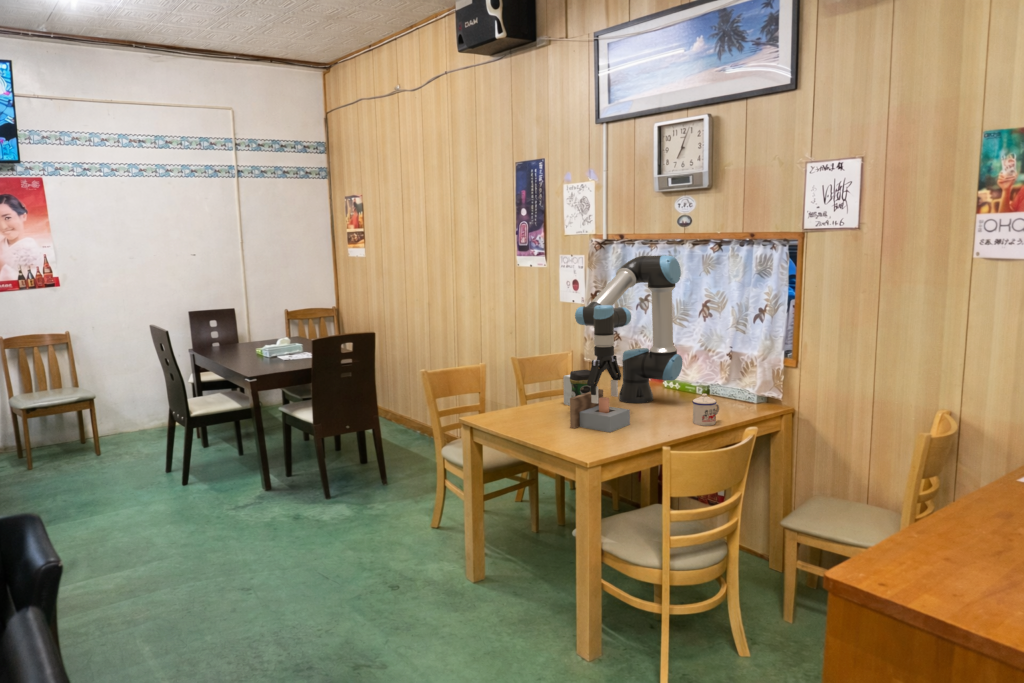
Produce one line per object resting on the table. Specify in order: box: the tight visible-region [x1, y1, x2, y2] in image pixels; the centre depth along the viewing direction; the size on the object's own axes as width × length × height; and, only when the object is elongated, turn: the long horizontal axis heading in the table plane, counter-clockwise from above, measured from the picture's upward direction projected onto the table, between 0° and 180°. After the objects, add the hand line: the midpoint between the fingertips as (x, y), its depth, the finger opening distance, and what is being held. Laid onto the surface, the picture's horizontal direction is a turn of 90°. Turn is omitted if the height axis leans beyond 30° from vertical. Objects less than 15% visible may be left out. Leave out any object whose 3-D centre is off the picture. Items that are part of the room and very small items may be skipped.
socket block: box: [579, 406, 631, 433], centre depth 280 cm, size 14×14×6 cm
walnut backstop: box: [569, 388, 604, 429], centre depth 285 cm, size 20×2×12 cm, turn 139°
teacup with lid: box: [692, 393, 720, 427], centre depth 280 cm, size 12×9×12 cm
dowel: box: [599, 396, 610, 413], centre depth 279 cm, size 4×4×10 cm
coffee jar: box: [569, 369, 591, 398], centre depth 300 cm, size 10×8×19 cm
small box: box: [562, 374, 572, 407], centre depth 319 cm, size 8×6×13 cm
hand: (604, 399), depth 279 cm, fingers open, 13 cm apart
